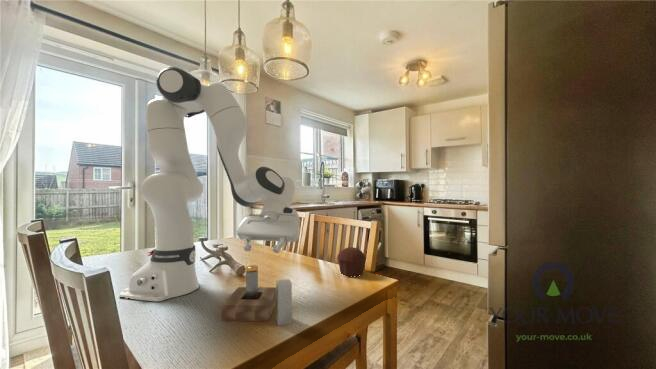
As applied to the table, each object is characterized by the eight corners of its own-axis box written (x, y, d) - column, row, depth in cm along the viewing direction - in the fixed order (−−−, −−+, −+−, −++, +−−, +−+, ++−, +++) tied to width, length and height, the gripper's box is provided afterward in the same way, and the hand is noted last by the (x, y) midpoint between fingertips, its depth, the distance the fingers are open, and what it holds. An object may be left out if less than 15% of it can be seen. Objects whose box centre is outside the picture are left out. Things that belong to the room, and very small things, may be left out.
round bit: (244, 312, 72) (244, 268, 72) (248, 307, 75) (248, 265, 76) (256, 312, 72) (256, 268, 72) (259, 307, 75) (259, 265, 75)
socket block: (221, 320, 68) (221, 305, 68) (238, 300, 80) (238, 287, 80) (268, 321, 68) (268, 305, 68) (277, 300, 80) (277, 287, 80)
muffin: (332, 271, 108) (332, 246, 108) (356, 267, 112) (356, 244, 112) (346, 280, 97) (346, 253, 97) (371, 276, 101) (371, 250, 101)
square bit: (278, 325, 66) (278, 285, 66) (276, 319, 69) (276, 280, 69) (291, 323, 67) (291, 283, 67) (289, 317, 70) (289, 279, 70)
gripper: (242, 208, 89) (225, 243, 80) (300, 209, 85) (290, 247, 76) (248, 220, 94) (233, 254, 84) (304, 221, 90) (295, 258, 80)
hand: (261, 251), depth 80 cm, fingers open, 8 cm apart
